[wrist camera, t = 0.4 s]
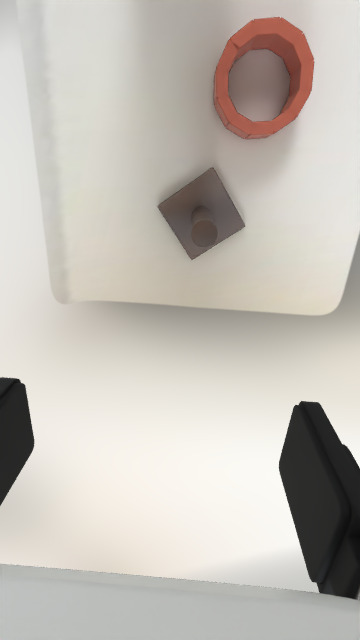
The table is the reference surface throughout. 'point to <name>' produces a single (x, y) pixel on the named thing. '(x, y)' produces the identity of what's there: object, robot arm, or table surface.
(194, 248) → the stand
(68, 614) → the robot arm
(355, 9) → the table surface
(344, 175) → the table surface
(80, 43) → the table surface
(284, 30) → the hoop
